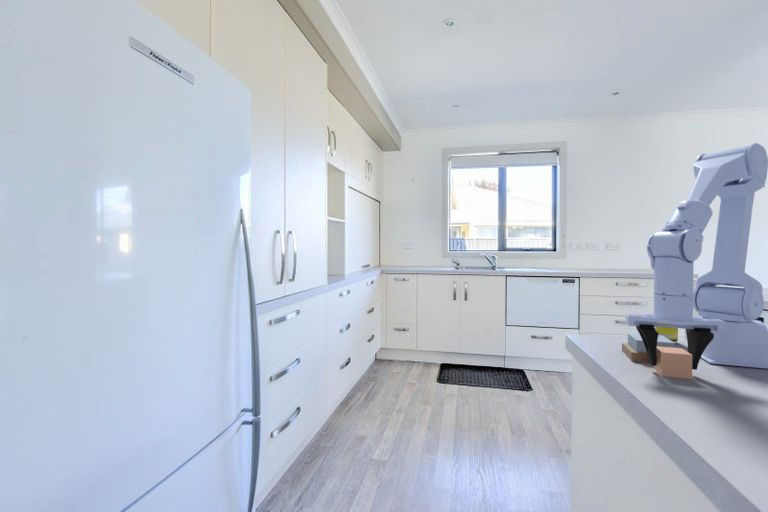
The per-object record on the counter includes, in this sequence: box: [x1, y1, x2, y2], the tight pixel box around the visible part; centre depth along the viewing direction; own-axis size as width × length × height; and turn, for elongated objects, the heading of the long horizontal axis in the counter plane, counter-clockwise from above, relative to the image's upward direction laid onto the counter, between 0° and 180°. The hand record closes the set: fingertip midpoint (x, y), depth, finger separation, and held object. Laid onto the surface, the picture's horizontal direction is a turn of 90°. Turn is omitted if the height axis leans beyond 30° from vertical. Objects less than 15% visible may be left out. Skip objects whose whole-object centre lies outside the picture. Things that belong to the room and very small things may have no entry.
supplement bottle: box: [654, 323, 679, 345], centre depth 89 cm, size 5×5×8 cm
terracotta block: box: [653, 346, 693, 380], centre depth 67 cm, size 4×4×4 cm
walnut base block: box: [621, 342, 650, 364], centre depth 76 cm, size 8×8×2 cm
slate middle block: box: [627, 332, 675, 353], centre depth 76 cm, size 6×6×2 cm
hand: (672, 365), depth 67 cm, fingers open, 5 cm apart
